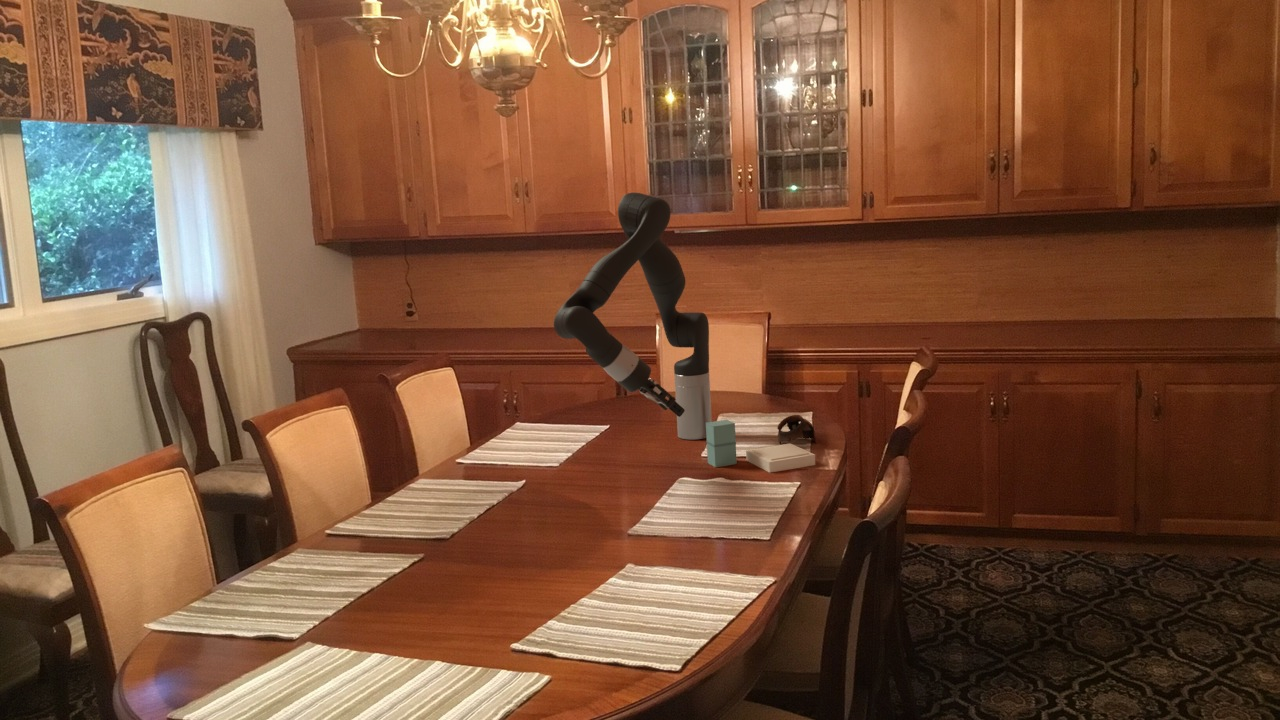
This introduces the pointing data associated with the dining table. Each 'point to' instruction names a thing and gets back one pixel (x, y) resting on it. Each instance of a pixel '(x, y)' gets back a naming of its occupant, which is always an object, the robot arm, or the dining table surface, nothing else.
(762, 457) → the display plinth
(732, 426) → the teal rectangular box
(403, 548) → the dining table surface
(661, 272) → the robot arm
